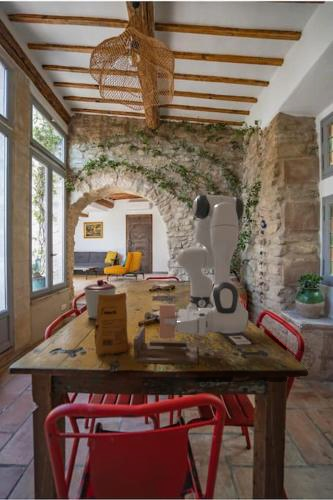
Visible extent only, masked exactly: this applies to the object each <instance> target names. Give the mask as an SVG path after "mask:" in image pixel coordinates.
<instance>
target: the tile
mask: <svg viewBox="0 0 333 500" xmlns="http://www.w3.org/2000/svg"><path fill="white" fill-rule="evenodd" d="M175 314H176V304H175V303H160V304H159V338H160V339H176V325H172V324H165V318H172V319H174V318H175Z"/></svg>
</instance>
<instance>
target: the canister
mask: <svg viewBox="0 0 333 500" xmlns="http://www.w3.org/2000/svg"><path fill="white" fill-rule="evenodd" d="M116 289H117V286H115V285H114V284H110V283H104V280H103V279H98V280H97V281H96V283H95V284H94V283H93V284H88V285H87V286H85V287H84V288H83V291H84V296H85V297H84V298H85V304H86V311H87V316H88V317H89V318H90V319H92V318H93V319H92V320H97V308H98V295H99V294H105V295H115V294H116Z"/></svg>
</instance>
